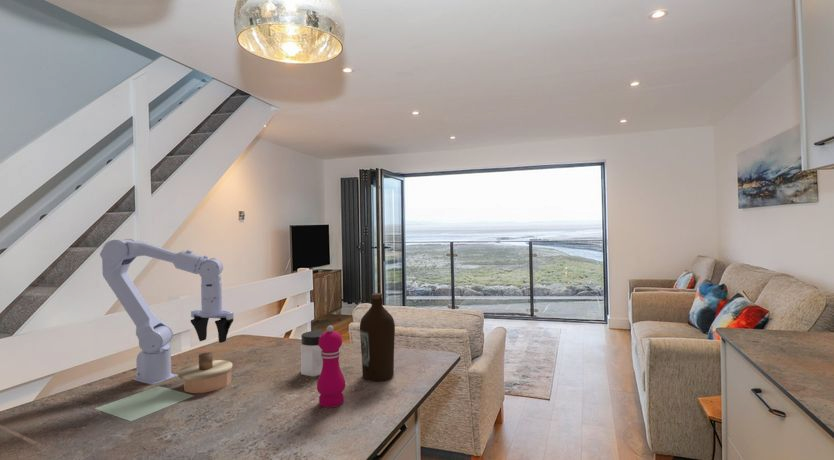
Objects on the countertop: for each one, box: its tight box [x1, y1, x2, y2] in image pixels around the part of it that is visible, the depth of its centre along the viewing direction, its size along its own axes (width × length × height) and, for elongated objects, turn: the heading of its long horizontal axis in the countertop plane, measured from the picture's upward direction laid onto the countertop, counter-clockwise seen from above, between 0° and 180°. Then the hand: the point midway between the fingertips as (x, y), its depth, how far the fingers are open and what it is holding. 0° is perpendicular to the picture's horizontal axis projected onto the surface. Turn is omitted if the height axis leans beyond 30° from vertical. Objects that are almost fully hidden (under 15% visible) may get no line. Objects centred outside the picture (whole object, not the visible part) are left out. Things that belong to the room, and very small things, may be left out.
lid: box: [177, 351, 233, 380], centre depth 119 cm, size 14×14×5 cm
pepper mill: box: [316, 324, 346, 408], centre depth 107 cm, size 7×7×20 cm
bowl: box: [183, 369, 232, 394], centre depth 119 cm, size 12×12×4 cm
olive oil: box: [359, 292, 396, 382], centre depth 125 cm, size 11×11×25 cm
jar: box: [300, 330, 326, 378], centre depth 129 cm, size 9×8×12 cm
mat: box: [94, 385, 195, 422], centre depth 108 cm, size 16×16×1 cm
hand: (212, 341), depth 128 cm, fingers open, 7 cm apart
